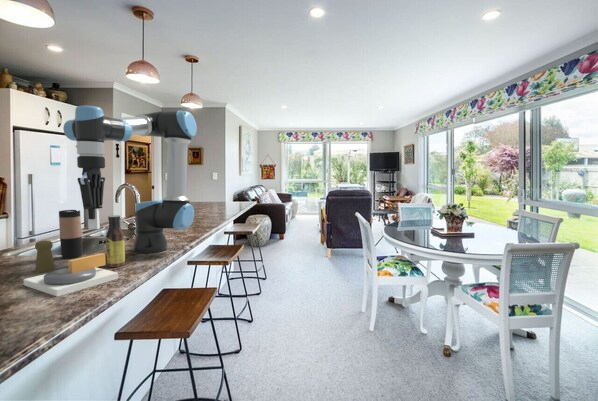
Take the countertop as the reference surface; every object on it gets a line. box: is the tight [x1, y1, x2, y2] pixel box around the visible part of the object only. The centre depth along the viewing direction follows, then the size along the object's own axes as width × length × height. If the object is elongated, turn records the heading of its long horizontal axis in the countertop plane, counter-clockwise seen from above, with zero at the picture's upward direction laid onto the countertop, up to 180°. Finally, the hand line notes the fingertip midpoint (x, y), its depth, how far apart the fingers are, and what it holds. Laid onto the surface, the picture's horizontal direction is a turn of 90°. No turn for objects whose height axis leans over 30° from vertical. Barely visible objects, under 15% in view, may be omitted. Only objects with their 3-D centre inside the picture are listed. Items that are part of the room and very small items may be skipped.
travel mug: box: [58, 209, 83, 260], centre depth 140 cm, size 8×8×20 cm
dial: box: [43, 252, 107, 285], centre depth 109 cm, size 18×14×6 cm
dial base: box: [23, 267, 119, 297], centre depth 110 cm, size 19×20×2 cm
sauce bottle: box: [105, 214, 126, 268], centre depth 127 cm, size 6×6×20 cm
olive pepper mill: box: [34, 239, 56, 273], centre depth 122 cm, size 6×6×11 cm
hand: (94, 228), depth 106 cm, fingers closed
